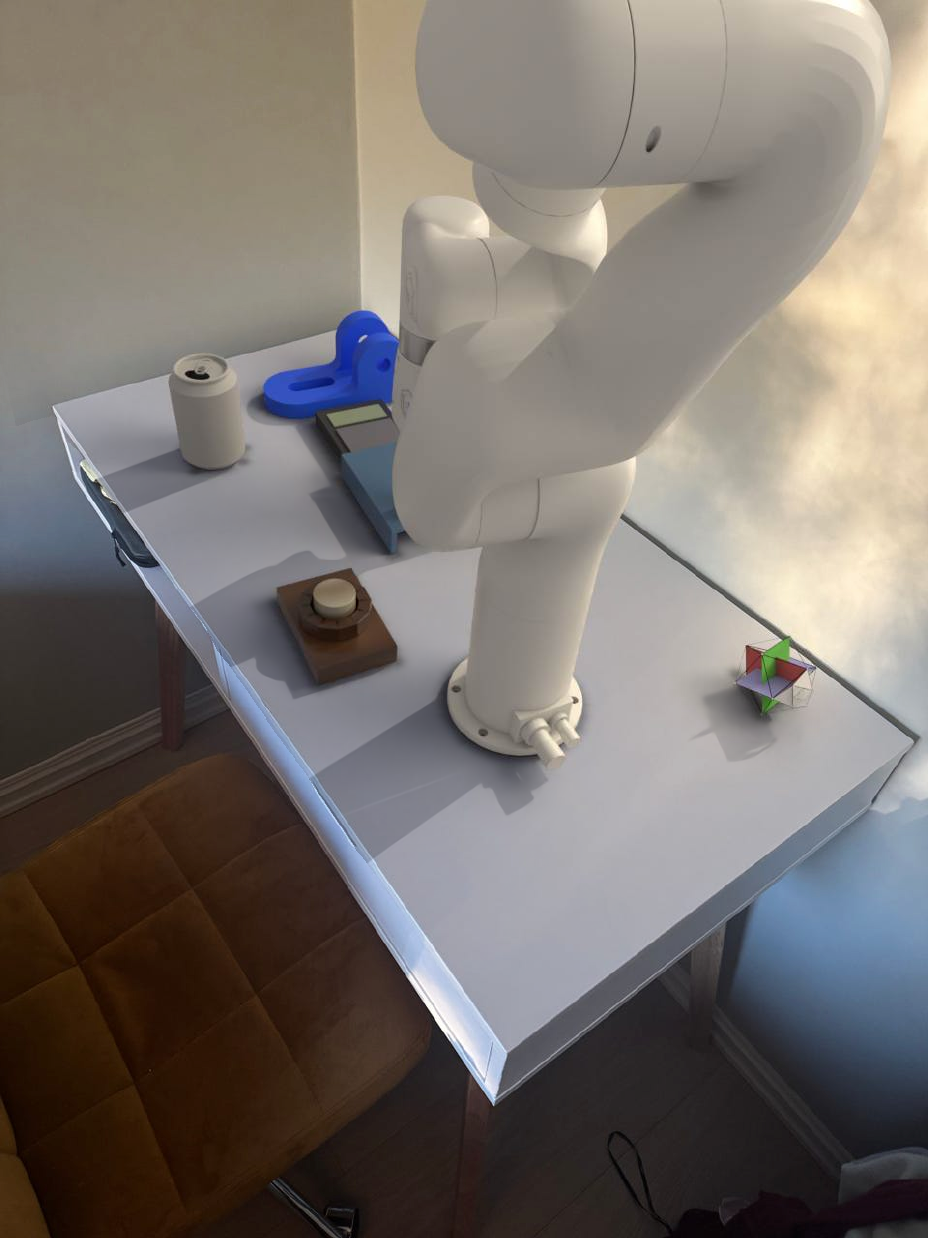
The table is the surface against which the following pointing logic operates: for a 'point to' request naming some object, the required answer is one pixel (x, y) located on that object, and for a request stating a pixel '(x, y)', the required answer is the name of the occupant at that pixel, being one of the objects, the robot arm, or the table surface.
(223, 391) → the can
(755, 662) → the geometric puzzle
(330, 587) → the bell button
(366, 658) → the brown wooden stand
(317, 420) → the calculator
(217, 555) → the table surface
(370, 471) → the cover
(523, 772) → the table surface
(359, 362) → the bracket
